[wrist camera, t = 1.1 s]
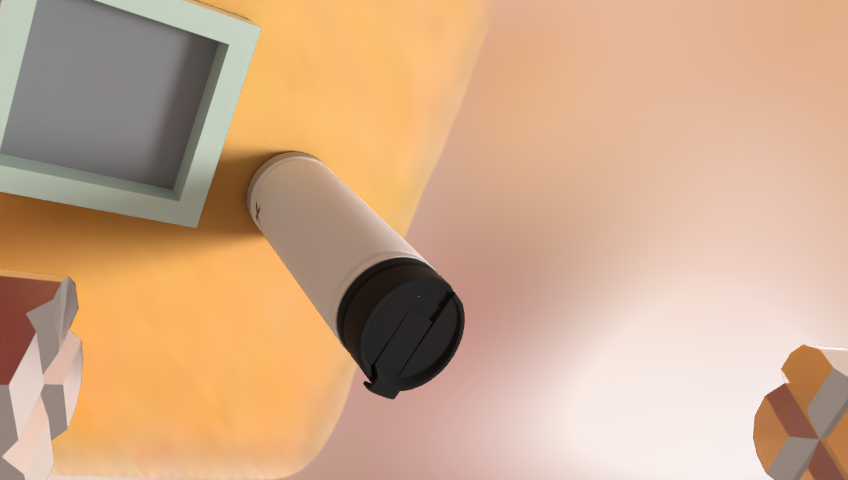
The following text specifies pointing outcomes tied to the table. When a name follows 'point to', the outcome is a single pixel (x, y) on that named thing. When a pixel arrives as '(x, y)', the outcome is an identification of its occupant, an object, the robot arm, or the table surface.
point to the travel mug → (357, 273)
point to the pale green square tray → (119, 102)
